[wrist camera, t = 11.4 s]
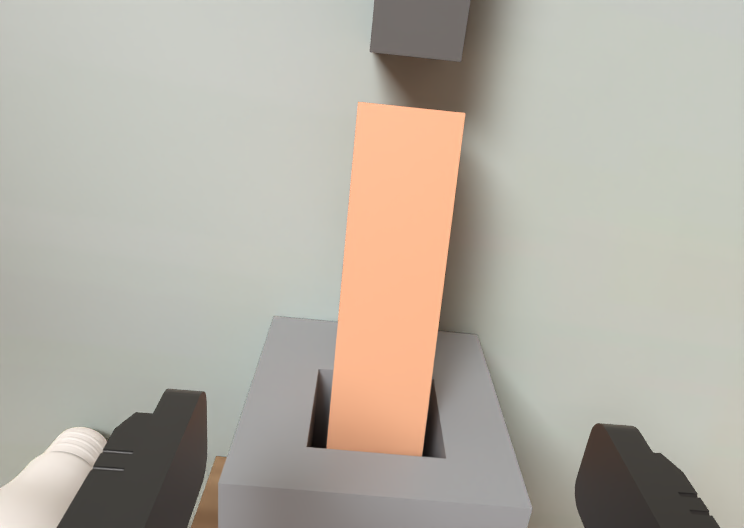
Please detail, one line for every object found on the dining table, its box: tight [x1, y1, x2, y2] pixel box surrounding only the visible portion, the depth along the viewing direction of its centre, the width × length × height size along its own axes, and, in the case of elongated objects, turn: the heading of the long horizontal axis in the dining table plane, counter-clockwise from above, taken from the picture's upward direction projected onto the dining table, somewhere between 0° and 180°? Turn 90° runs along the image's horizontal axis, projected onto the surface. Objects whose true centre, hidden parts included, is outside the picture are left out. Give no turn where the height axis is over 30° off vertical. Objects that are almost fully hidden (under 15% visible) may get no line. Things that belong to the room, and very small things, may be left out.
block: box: [218, 316, 532, 528], centre depth 23 cm, size 8×9×10 cm
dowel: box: [326, 102, 465, 457], centre depth 21 cm, size 16×3×3 cm, turn 174°
